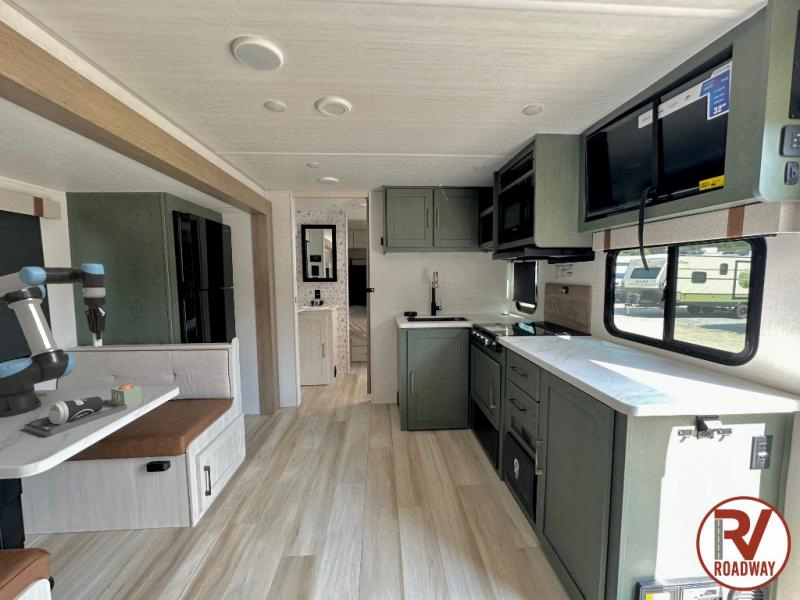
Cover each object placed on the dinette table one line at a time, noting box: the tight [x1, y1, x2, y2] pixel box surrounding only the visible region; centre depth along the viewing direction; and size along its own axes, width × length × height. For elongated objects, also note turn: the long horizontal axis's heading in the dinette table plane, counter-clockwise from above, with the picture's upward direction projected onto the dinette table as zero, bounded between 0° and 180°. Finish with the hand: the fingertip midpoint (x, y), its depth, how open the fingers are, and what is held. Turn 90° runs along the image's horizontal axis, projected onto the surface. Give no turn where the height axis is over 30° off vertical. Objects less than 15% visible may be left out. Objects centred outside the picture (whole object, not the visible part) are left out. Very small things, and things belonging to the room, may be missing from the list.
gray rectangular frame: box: [23, 399, 128, 438], centre depth 136 cm, size 17×26×2 cm, turn 159°
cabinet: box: [110, 384, 143, 407], centre depth 152 cm, size 10×8×8 cm
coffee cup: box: [47, 395, 104, 425], centre depth 137 cm, size 10×10×15 cm
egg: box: [119, 383, 132, 390], centre depth 152 cm, size 4×4×6 cm
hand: (97, 345), depth 150 cm, fingers closed
